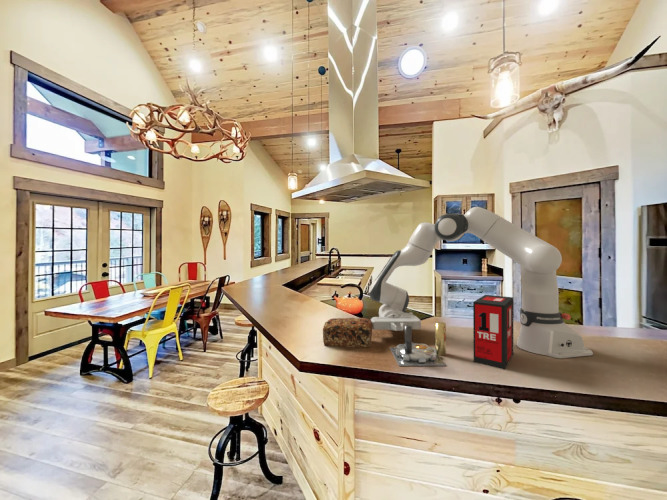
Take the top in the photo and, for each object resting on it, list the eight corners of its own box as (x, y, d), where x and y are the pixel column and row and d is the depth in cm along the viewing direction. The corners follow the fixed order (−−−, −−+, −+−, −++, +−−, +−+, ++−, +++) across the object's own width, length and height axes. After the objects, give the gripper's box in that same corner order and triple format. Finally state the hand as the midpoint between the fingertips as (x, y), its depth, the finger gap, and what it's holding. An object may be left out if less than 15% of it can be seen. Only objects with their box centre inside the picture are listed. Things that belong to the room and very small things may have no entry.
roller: (443, 351, 102) (443, 321, 102) (447, 355, 98) (447, 324, 98) (433, 352, 102) (433, 321, 102) (437, 355, 98) (437, 324, 98)
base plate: (430, 348, 105) (430, 347, 105) (445, 365, 90) (445, 364, 90) (390, 348, 105) (390, 347, 105) (398, 366, 90) (398, 364, 90)
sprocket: (391, 347, 104) (391, 318, 104) (428, 346, 105) (427, 318, 105) (401, 362, 91) (401, 329, 91) (443, 361, 91) (443, 328, 91)
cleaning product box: (504, 369, 87) (504, 305, 87) (473, 362, 93) (473, 301, 93) (513, 353, 100) (513, 297, 99) (485, 347, 105) (485, 294, 105)
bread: (372, 340, 115) (372, 316, 115) (369, 350, 105) (369, 323, 105) (328, 337, 120) (328, 314, 120) (321, 346, 109) (321, 320, 109)
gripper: (368, 312, 123) (372, 320, 109) (415, 312, 122) (425, 320, 109) (368, 326, 123) (372, 337, 109) (415, 326, 123) (425, 336, 109)
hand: (399, 328), depth 109 cm, fingers closed
